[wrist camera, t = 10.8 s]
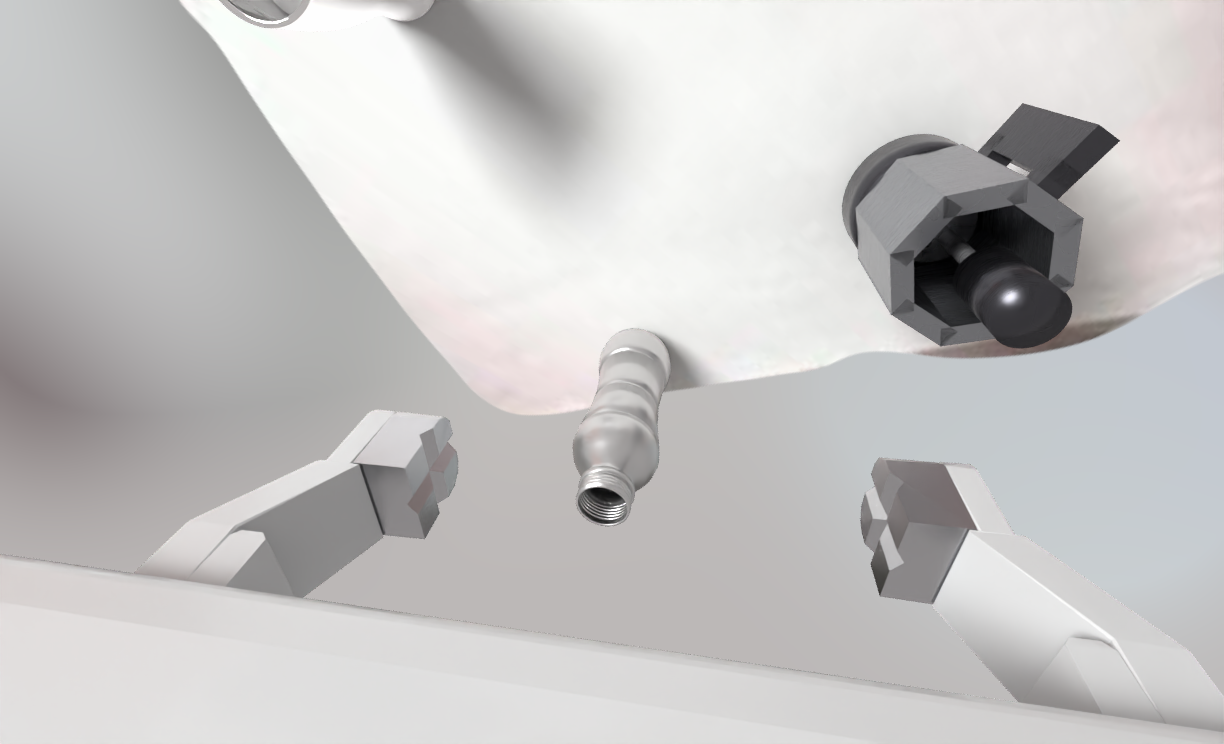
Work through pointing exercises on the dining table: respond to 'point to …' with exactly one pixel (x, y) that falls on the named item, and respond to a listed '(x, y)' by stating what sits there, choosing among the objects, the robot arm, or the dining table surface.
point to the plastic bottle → (621, 426)
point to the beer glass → (323, 12)
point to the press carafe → (969, 211)
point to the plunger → (1000, 287)
